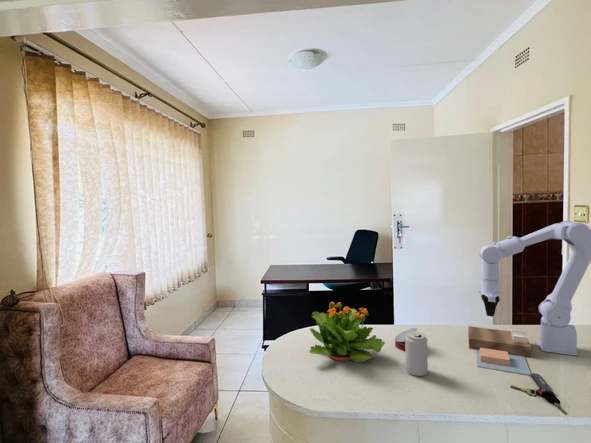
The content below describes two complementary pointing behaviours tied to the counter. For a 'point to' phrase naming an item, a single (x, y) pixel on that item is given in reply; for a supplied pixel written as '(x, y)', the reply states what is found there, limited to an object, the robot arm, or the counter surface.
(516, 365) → the mat
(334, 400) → the counter surface
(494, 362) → the terracotta tile
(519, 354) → the brown wooden block
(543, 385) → the usb stick
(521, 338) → the cream tile
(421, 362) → the beverage can
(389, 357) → the counter surface
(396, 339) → the canned food
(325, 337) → the potted flower
